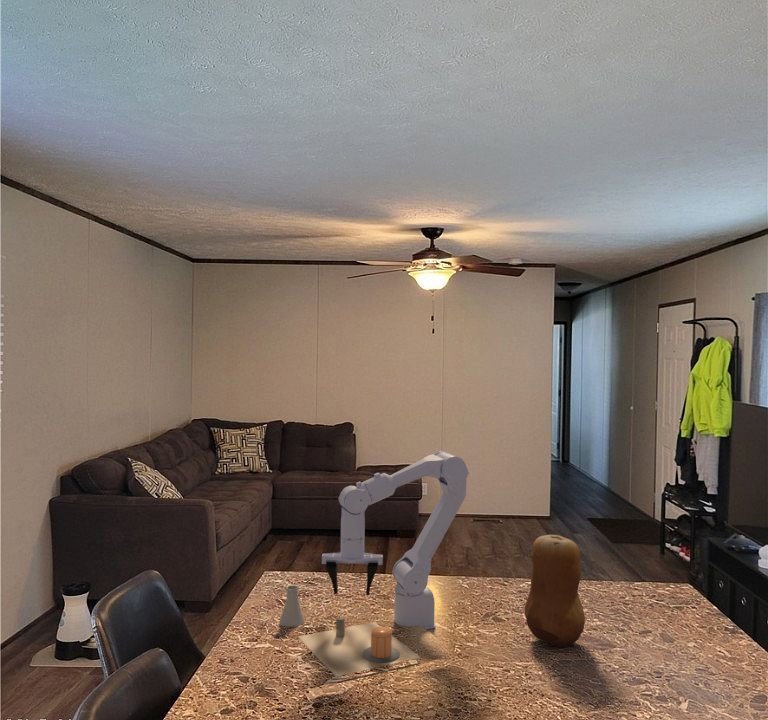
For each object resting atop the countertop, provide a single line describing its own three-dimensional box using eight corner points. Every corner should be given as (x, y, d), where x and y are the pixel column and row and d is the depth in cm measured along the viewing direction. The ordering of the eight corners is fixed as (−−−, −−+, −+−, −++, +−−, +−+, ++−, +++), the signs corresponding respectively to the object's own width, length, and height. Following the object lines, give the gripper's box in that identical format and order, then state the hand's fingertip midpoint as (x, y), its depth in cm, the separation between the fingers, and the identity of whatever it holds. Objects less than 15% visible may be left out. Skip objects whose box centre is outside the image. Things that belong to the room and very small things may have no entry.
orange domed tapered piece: (391, 649, 158) (392, 627, 158) (390, 658, 154) (391, 635, 154) (371, 648, 159) (372, 626, 158) (370, 657, 154) (370, 634, 154)
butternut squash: (588, 637, 171) (590, 533, 170) (579, 660, 158) (581, 548, 158) (531, 627, 176) (533, 526, 176) (517, 648, 164) (519, 540, 164)
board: (374, 627, 175) (374, 605, 175) (420, 664, 155) (420, 639, 155) (297, 642, 165) (297, 619, 165) (336, 683, 146) (336, 657, 146)
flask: (301, 634, 170) (302, 593, 170) (272, 632, 171) (273, 590, 171) (310, 623, 177) (311, 583, 177) (282, 620, 178) (283, 581, 178)
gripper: (320, 541, 167) (319, 598, 168) (382, 542, 167) (381, 599, 167) (323, 533, 174) (323, 588, 175) (383, 534, 174) (382, 589, 174)
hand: (351, 593), depth 171 cm, fingers open, 7 cm apart
